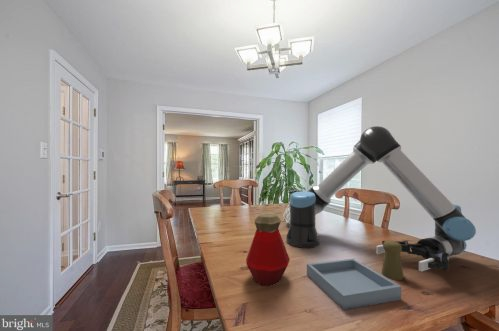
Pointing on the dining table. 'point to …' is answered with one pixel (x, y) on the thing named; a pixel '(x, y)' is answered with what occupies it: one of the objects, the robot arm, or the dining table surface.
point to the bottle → (267, 251)
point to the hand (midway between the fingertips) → (396, 257)
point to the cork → (392, 260)
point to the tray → (353, 283)
